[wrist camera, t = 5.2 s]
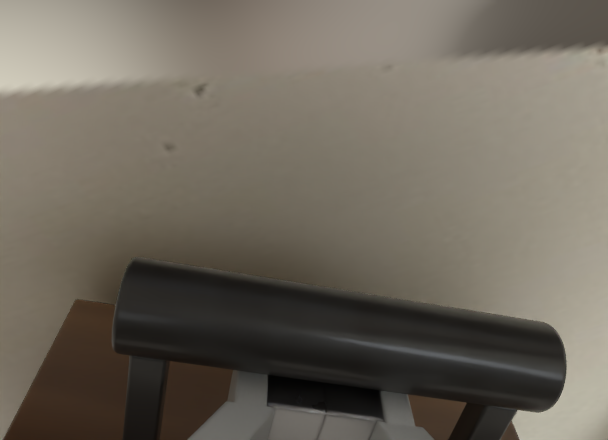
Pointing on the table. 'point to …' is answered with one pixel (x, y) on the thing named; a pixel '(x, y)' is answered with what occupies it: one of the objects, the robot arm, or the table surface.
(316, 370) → the drawer
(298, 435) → the robot arm
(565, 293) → the table surface
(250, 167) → the table surface
